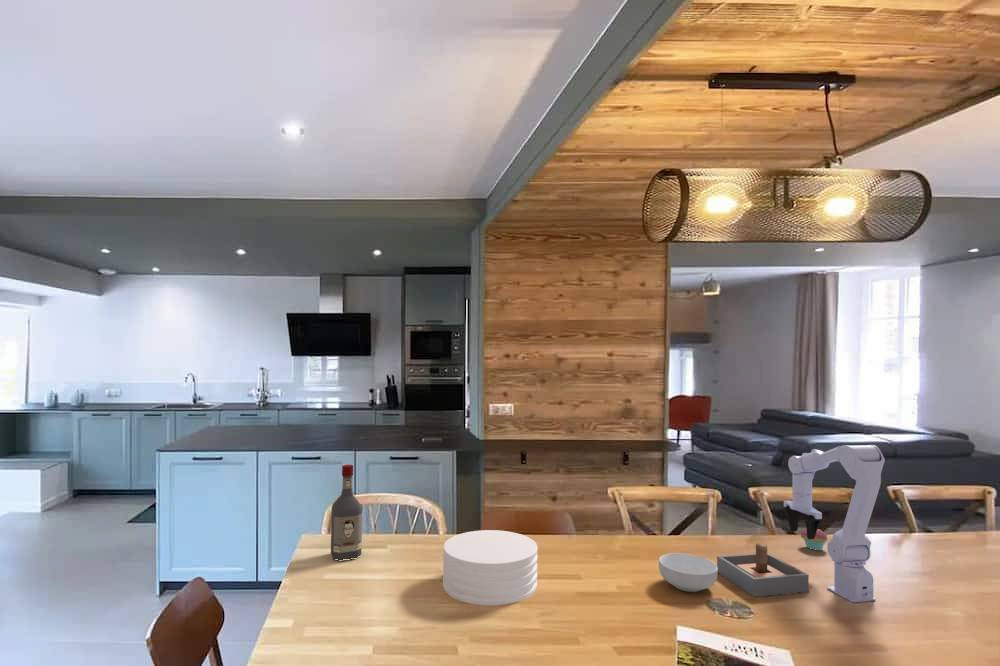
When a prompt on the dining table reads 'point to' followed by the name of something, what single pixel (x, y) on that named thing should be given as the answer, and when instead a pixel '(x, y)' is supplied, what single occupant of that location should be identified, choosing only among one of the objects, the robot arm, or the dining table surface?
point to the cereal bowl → (688, 571)
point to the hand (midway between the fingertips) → (802, 534)
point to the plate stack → (490, 567)
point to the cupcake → (814, 543)
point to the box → (762, 575)
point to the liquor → (346, 521)
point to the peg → (761, 558)
